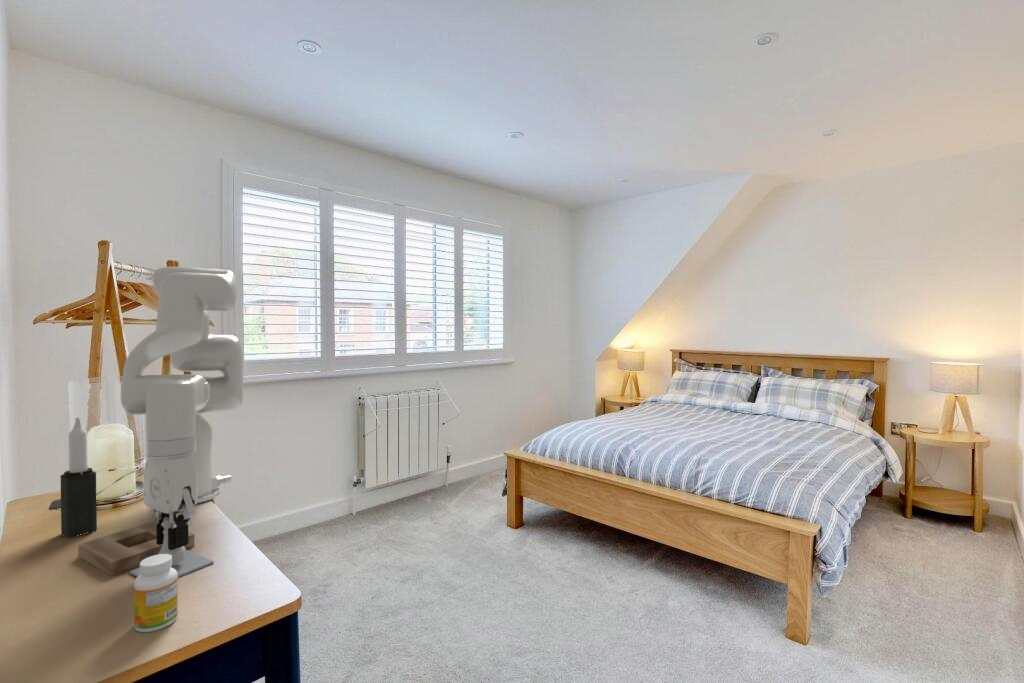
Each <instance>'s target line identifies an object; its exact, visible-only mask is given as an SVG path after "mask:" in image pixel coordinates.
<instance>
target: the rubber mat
mask: <svg viewBox="0 0 1024 683" xmlns="http://www.w3.org/2000/svg"><path fill="white" fill-rule="evenodd" d="M184 553H186V556H185V558H184V559H183V560H182V561H180V562H178V563H174V564H172V566H171V568H174V569H175V570H176V571H177V576H178V578H181V577H184V576H185V575H188V574H190V573H194V572H196V571H198V570H200V568H201V569H203V568H205V567H208V566H210V564H211V565H213V564H214V562H215V561H214V560H212V559H210V558H209V557H208V558H207V557H205V556H203V555H201V554H199V553H196V552H193V551H191V550H189V549H186V551H185V552H184ZM212 563H213V564H212ZM128 571H129V575H131V574H132V575H131V576H133V575H134V576H133V577H135V576H136V578H137V577H138V576H139V575H141V574H140V567H136V568H133V569H131V570H128Z"/></svg>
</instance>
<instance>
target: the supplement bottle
mask: <svg viewBox="0 0 1024 683" xmlns="http://www.w3.org/2000/svg"><path fill="white" fill-rule="evenodd" d="M171 566H172V556H171V555H169V554H158V555H154V556H150V557H148V558H146V559H144V560H142V561H141V562H140V566H139V568H140V574H141V575H139V576H138V577H136V578H135V580H134V583H133V606H134V607H133V609H134V610H133V611H134V612H133V613H134V614H133V617H134V621H133V622H134V629H135V630H136V631H137V632H140V633H151V632H152V633H153V632H155V631H158V630H162V629H165V628H166V627H168V626H170V625H171V624H173V623H174V622H175V621H176V620H177V618H178V615H179V600H178V599H179V597H178V596H179V595H178V594H179V592H178V591H179V588H178V587H179V584H178V582H179V581H178V578H179V577H178V576H177V571H176V570H175V569H174V568H171Z"/></svg>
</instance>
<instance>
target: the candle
mask: <svg viewBox="0 0 1024 683" xmlns="http://www.w3.org/2000/svg"><path fill="white" fill-rule="evenodd" d="M74 420H75V422H74V425H73V428H72V429H71V430H70V432H69V434H68V459H69V460H68V462H69V463H68V464H69V465H68V470H66V471H64V472H63V474H61V475H60V499H61V509H60V519H61V520H60V524H61V525H60V526H61V529H60V530H61V533H60V534H61V536H63V535H64V536H63V537H65V538H66V537H68V538H67V539H71V538H70V537H75V536H77V535H80V534H84V533H87V532H92V531H95V530H96V529H97V530H98V520H97V516H98V514H97V504H98V503H96V493H97V472H96V471H93V468H92V467H88V433H87V432H88V431H86V429H85V428H84V427H83V425H82V422H81V417H75V419H74ZM95 532H96V531H95ZM84 535H85V534H84ZM77 537H78V536H77ZM75 538H76V537H75Z"/></svg>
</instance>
